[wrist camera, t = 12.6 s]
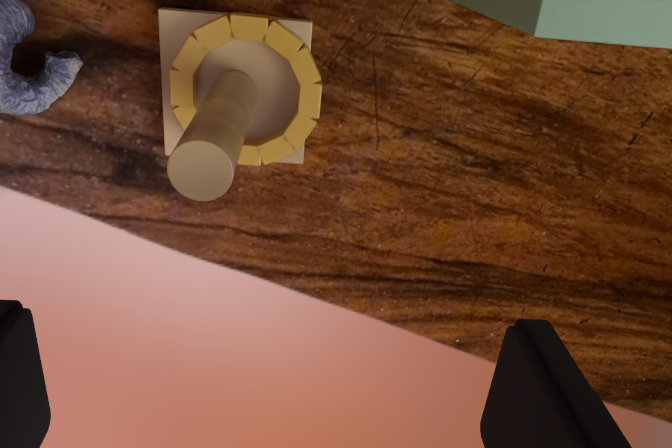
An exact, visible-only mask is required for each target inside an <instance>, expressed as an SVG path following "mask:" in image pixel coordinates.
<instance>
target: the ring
mask: <svg viewBox="0 0 672 448" xmlns="http://www.w3.org/2000/svg"><path fill="white" fill-rule="evenodd" d="M233 39H236V40H246V41H256V42H264V43H265V44H266V45H268V46H269V47H271V48H272V49H273V50H275V51H276V52H277V53H279V54H280V55H282V56H283V57H284V58H286V59H287V60H288V62H289V64H290V66H291V68H292V70H293V72H294V75H295V77H296V79H297V81H298V83H299V98H298V108H297V110H296V111H295V112H294V114H293V115H292V117H291V118H290V120H289V121H288V122H287V124H286V125H285V127H284V128H283V129H282V130H280V131H277V132H275V133H273V134H271V135H268V136H266V137H264V138H262V139H259V140H257V139H244V143H243V146H242V150H241V153H240V157H239V160H238V163H237V164H243V165H255V166H260V165H261V160H262V162H263V163H264V165H267V164H269V163H271V162H274V161H276V160H278V159H280V158H283V157H285V156H287V155H289V154H292V153H294V150H295V148H296V149H299V148H300V146H301V145H302V143H303V142H304V141H305V139H306V138H307V137H308V135H309V134H310V132H311V131H312V130H313V128H314V127H315V126H316V124H317V119H318V118H319V114H320V104H321V94H322V80H321V74H320V72H319V70H318V67H317V65H316V63H315V61H314V59H313V56H312V54H311V52H310V50H309V47H308V45H307V44H303V39H302V38H301V37H300V36H298V35H297V34H296V33H294V32H293V31H292V30H290V29H289V28H288V27H286V26H285V25H283V24H282V23H281V22H279V21H278V20H277V19H275V18H273V19H272V21H271V22H270V24H269V15H260V14H251V13H241V12H233V13H232V14H231V15H229V13H226V14H224V15H222V16H220V17H218V18H216V19H214V20H212V21H210V22H208V23H205V24H203V25H201V26H199V27H197V28H196V29H195V30H194V31H193V32H192V33H191V34H190V35H189V36H188V37H187V39H186V41H185V42H184V44H183V46H182V47H181V49H180V51H179V52H178V54H177V56H176V57H175V59H174V61H173V62H172V66H173V67H172V68H171V69H170V105H173V106H175V107H174V108H173V109H172V111H173V113H174V114H175V116H176V118H177V119H178V121H179V123H180V124H181V126H182V128H183V130H184V131H185V130H186V128H187V127H188V125H189V123H190V122H191V120H192V118H193V117H194V115H195V114H196V112H197V110H198V109H199V107H200V104H199V102H198V100H197V70H198V68H199V66H200V65H201V63H202V62H203V60H204V58H205V57H206V55H207V53H208V52H209V51H210V50H212V49H214V48H216V47H218V46H221V45H223V44H225V43H227V42H229V41H231V40H233ZM302 44H303V45H302Z"/></svg>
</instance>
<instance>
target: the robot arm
mask: <svg viewBox="0 0 672 448" xmlns="http://www.w3.org/2000/svg"><path fill="white" fill-rule="evenodd" d="M50 414H51V413H50V406H49V401H48V396H47V391H46V385H45V381H44V375H43V369H42V364H41V360H40V354H39V348H38V343H37V338H36V333H35V328H34V322H33V317H32V313H31V311H30V309H27V308H23V307H22V304H21V303H20V302H19V301H17V300H0V448H39V447H40V445H41V443H42V441H43V439H44V437H45V435H46V433H47V431H48V428H49V425H50V418H51V415H50ZM480 432H481V438H482V441H483V444H484V446H485V448H632V447H631V446H630V444H629V443H628V441H627V440H626V438H625V436H624V435H623V433H622V432H621V430H620V429H619V427H618V425H617V424H616V422H615V421H614V419H613V418H612V416H611V415H610V413H609V411H608V410H607V408H606V407H605V405H604V404H603V402H602V400H601V399H600V397H599V396H598V394H597V393H596V392H595V391H594V390H593V389H592V388H591V386H590V385H589V383H588V382H587V380H586V379H585V377H584V375H583V374H582V372H581V371H580V369H579V368H578V366H577V364H576V363H575V361H574V360H573V358H572V357H571V355H570V353H569V352H568V350H567V349H566V347H565V346H564V344H563V342H562V341H561V339H560V338H559V336H558V335H557V333H556V331H555V330H554V328H553V327H552V325H551V324H550V323H549V322H548V321H546V320H531V319H519V320H517V321H516V323H515V325H514V326H509V327H508V328H507V330H506V332H505V336H504V339H503V343H502V347H501V350H500V354H499V357H498V361H497V365H496V368H495V372H494V375H493V379H492V383H491V386H490V390H489V393H488V397H487V400H486V404H485V408H484V411H483V415H482V419H481V423H480Z"/></svg>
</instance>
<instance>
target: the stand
mask: <svg viewBox="0 0 672 448" xmlns="http://www.w3.org/2000/svg"><path fill="white" fill-rule="evenodd" d="M451 1H453V2H455V3H458V4H460V5H462V6H465V7H467V8H469V9H471V10H474V11H476V12H478V13H481V14H483V15H485V16H487V17H490V18H492V19H494V20H497V21H499V22H501V23H503V24H506V25H508V26H510V27H513V28H515V29H517V30H519V31H522V32H524V33H526V34H529V35H531V36H533V37H539V38H551V39H562V40H574V41H585V42H597V43H609V44H620V45H632V46H644V47H655V48H667V49H672V0H451Z"/></svg>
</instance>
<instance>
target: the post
mask: <svg viewBox="0 0 672 448" xmlns="http://www.w3.org/2000/svg"><path fill="white" fill-rule="evenodd" d="M224 14H226V12H214V11H203V10H191V9H179V8H168V7H162V8H160V9H158V19H159V40H160V60H161V81H162V102H163V122H164V143H165V155H170V157H169V159H168V164H167V172H168V177H169V179H170V181H171V183H172V185H173V186H174V188H175V189H176V190H177V191H178V192H179V193H181V194H182V195H184V196H185V197H187V198H190V199H193V200H197V201H209V200H213V199H216V198H218V197H220V196H222V195H223V194H224V193H225V192H226V191H227V190H228V189H229V187H230V186H231V183H232V181H233V177H234V174H235V170H236V167H237V163H238V160H239V157H240V153H241V150H242V146H243V143H244V139H257V140H259V139H262V138H264V137H266V136H268V135H271V134H273V133H275V132H277V131H280V130H282V129H283V128H284V127H285V125H286V124H287V122H288V121H289V120H290V118H291V117H292V115H293V114H294V112H295V111H296V110H297V108H298V98H299V83H298V81H297V79H296V77H295V75H294V72H293V70H292V68H291V66H290V64H289V62H288V60H287V59H286V58H284V57H283V56H282V55H280V54H279V53H277V52H276V51H275V50H273V49H272V48H271V47H269V46H268V45H266V44H265V43H264V42H256V41H246V40H236V39H233V40H231V41H229V42H227V43H225V44H223V45H221V46H218V47H216V48H214V49H212V50H210V51H209V52H208V53H207V55H206V57H205V58H204V60H203V62H202V63H201V65H200V66H199V68H198V70H197V100H198V102H199V104H200V107H199V109H198V110H197V112H196V114H195V115H194V117H193V118H192V120H191V122H190V123H189V125H188V127H187V128H186V130H185V131H184V130H183V128H182V126H181V124H180V123H179V121H178V119H177V118H176V116H175V114H174V113H173V111H172V109H173V108H174V107H175V106H173V105H170V69H171V68H172V67H173V66H172V62H173V61H174V59H175V57H176V56H177V54H178V52H179V51H180V49H181V47H182V46H183V44H184V42H185V41H186V39H187V37H188V36H189V35H190V34H191V33H192V32H193V31H194V30H195V29H196V28H197V27H199V26H201V25H203V24H205V23H208V22H210V21H212V20H214V19H216V18H218V17H220V16H222V15H224ZM231 14H232V13H229V15H231ZM273 18H275V19H277V20H278V21H279V22H281V23H282V24H283V25H285V26H286V27H288V28H289V29H290V30H292V31H293V32H294V33H296V34H297V35H298V36H300V37H301V38H302V39H303V44H307V45H308V47H309V50H310V52H311V36H312V20H308V19H296V18H284V17H273V16H269V24H270V22H271V21H272V19H273ZM303 44H302V45H303ZM304 143H305V141H304V142H303V143H302V145H301V146H300V148H299V149H296V148H295V150H294V153H292V154H289V155H287V156H285V157H283V158H280V159H278V160H276V161H274V162H281V163H296V164H303V158H304ZM261 161H262V160H261Z"/></svg>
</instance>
